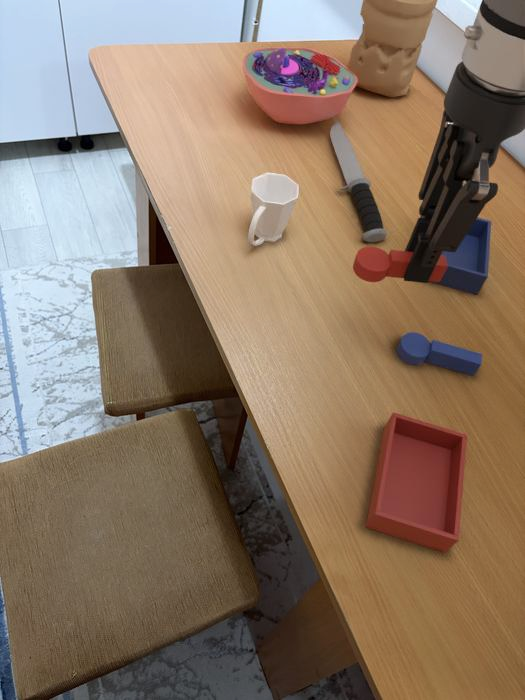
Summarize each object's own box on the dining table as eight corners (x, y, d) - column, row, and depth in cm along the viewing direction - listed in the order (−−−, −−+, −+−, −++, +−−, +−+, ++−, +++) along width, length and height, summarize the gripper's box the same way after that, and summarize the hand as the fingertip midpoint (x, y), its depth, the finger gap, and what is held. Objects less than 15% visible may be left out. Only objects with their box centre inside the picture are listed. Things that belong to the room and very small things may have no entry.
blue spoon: (474, 359, 77) (482, 347, 75) (472, 383, 74) (481, 371, 72) (398, 336, 77) (404, 324, 75) (394, 359, 75) (400, 347, 73)
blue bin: (477, 294, 84) (487, 277, 81) (419, 278, 84) (427, 260, 82) (481, 239, 91) (491, 221, 88) (428, 224, 92) (436, 206, 89)
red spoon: (436, 264, 69) (443, 248, 67) (441, 289, 67) (449, 273, 65) (351, 255, 69) (356, 239, 67) (354, 280, 66) (359, 264, 64)
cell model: (343, 152, 101) (359, 90, 92) (229, 130, 101) (234, 66, 92) (350, 100, 111) (364, 40, 102) (246, 81, 111) (252, 19, 102)
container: (377, 64, 121) (404, -33, 107) (419, 94, 116) (453, -4, 101) (331, 77, 116) (353, -23, 101) (373, 109, 110) (402, 8, 96)
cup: (299, 227, 88) (308, 183, 82) (269, 267, 82) (277, 223, 76) (258, 210, 89) (264, 165, 83) (226, 248, 84) (229, 203, 77)
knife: (358, 247, 88) (390, 242, 88) (360, 233, 86) (393, 228, 86) (315, 129, 104) (342, 126, 105) (315, 115, 102) (343, 111, 102)
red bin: (445, 552, 61) (458, 540, 58) (365, 527, 61) (375, 514, 58) (454, 449, 68) (467, 434, 65) (383, 428, 69) (392, 412, 66)
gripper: (443, 26, 53) (375, 225, 72) (476, 117, 44) (389, 318, 63) (523, 37, 54) (435, 231, 72) (571, 128, 45) (456, 323, 63)
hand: (413, 271), depth 68 cm, fingers closed on red spoon, 2 cm apart
